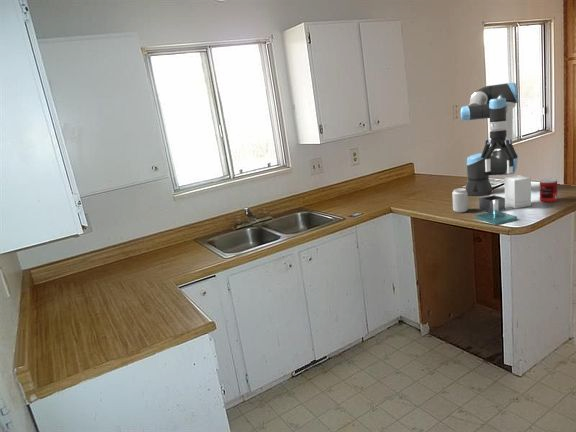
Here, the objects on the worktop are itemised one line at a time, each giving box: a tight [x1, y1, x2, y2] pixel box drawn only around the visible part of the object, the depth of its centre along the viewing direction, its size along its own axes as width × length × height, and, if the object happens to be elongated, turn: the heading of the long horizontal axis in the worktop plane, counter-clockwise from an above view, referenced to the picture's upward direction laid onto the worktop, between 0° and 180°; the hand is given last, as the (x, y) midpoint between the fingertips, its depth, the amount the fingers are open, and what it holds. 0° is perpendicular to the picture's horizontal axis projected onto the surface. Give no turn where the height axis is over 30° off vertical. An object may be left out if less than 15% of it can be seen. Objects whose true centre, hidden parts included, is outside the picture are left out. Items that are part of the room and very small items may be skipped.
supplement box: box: [504, 174, 532, 209], centre depth 220 cm, size 9×9×15 cm
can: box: [451, 187, 469, 214], centre depth 225 cm, size 8×8×12 cm
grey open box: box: [478, 194, 506, 213], centre depth 221 cm, size 8×9×6 cm
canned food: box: [539, 177, 558, 203], centre depth 220 cm, size 8×8×11 cm
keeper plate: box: [475, 199, 518, 226], centre depth 206 cm, size 14×12×10 cm
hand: (498, 172), depth 217 cm, fingers open, 13 cm apart
